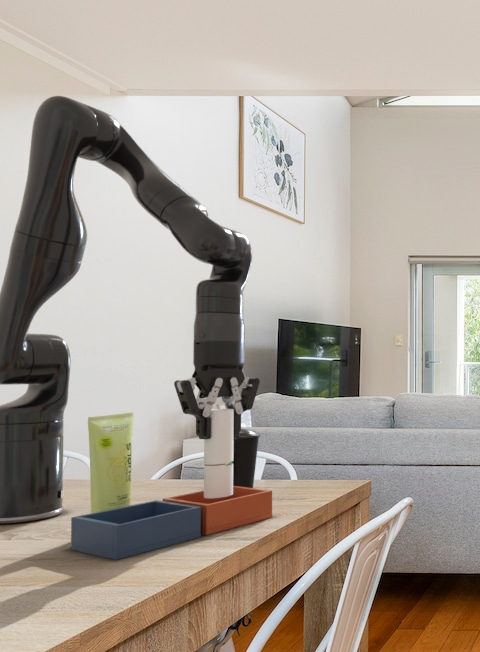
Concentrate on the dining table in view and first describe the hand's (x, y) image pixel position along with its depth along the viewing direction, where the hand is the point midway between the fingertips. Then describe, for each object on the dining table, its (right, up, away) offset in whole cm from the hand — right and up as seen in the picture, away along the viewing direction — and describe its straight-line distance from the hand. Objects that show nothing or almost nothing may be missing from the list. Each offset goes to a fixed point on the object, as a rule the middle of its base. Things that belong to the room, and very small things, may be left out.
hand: (218, 436), depth 101 cm
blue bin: (-5, -15, -12) cm, 19 cm away
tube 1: (-13, -15, -7) cm, 21 cm away
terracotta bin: (0, -15, 0) cm, 15 cm away
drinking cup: (-4, -15, +12) cm, 20 cm away
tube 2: (0, -10, 0) cm, 10 cm away
